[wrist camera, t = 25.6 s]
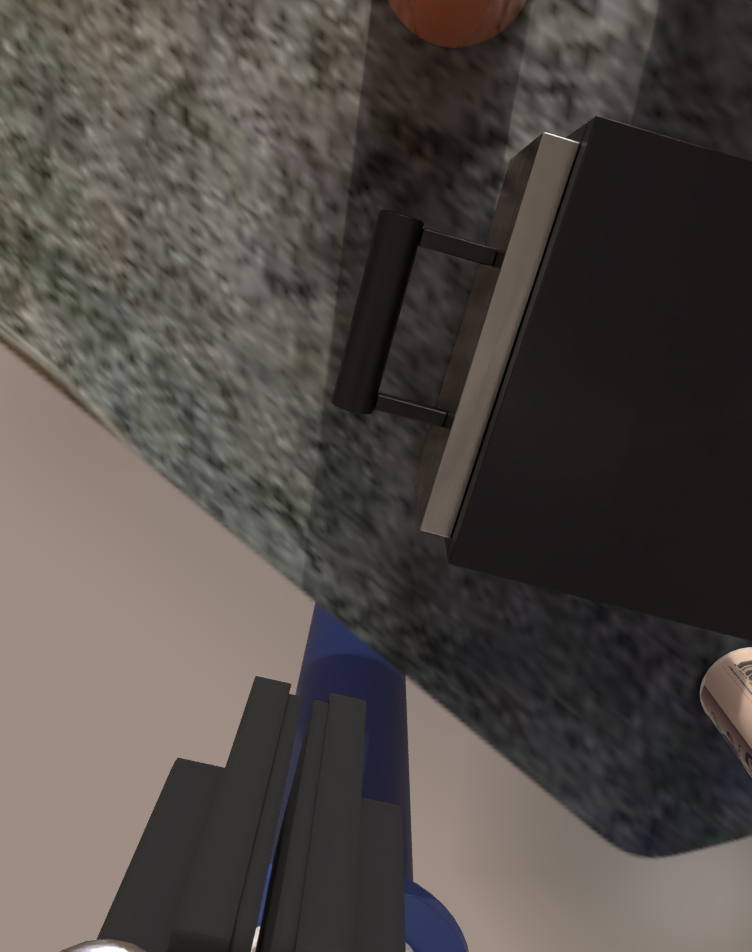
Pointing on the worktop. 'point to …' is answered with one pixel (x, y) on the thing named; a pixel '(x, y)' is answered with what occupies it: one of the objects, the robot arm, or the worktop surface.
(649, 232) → the black drawer cabinet
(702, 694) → the beer can
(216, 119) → the worktop surface
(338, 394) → the drawer
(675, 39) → the worktop surface
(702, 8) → the worktop surface
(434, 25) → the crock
